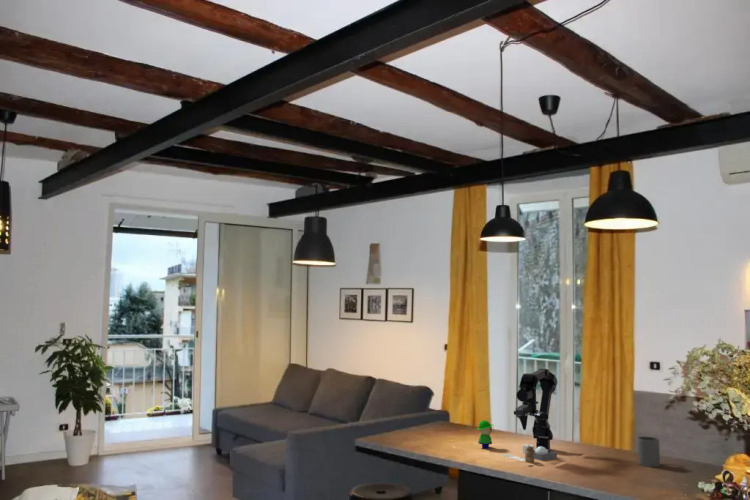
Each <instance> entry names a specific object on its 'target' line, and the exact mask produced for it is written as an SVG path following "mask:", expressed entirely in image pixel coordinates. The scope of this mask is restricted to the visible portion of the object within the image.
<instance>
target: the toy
mask: <svg viewBox="0 0 750 500" xmlns="http://www.w3.org/2000/svg"><path fill="white" fill-rule="evenodd" d="M494 428H495V427H494V424H491V423H490V422H489V421H488V420H481V421H480V422H479V424H478V427H477V428H476V430H479V432H480V435H479V438H478V442H477V443H478V444H480V445H481V448H482V449H484V450H488V449H489V448H490V445H492V444H493V441H492V437H491V433H492V432H494Z"/></svg>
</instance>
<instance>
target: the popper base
mask: <svg viewBox="0 0 750 500" xmlns="http://www.w3.org/2000/svg"><path fill="white" fill-rule="evenodd" d="M557 455H558V452H557V451H553V450H550V449H549V450H548V453H543V454H541V453H537V452H535V449H534V460H537V461H541V462H542V461H548V460H554V459H555V460H556V459H558V456H557Z"/></svg>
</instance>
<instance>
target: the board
mask: <svg viewBox="0 0 750 500" xmlns="http://www.w3.org/2000/svg"><path fill="white" fill-rule="evenodd" d="M501 456H502V457H505V458H510V459H513V460H517V461H521V462H524V463H527V464H530V463H529V462H525V458H522V457H519V456H515V455H512V454H508V453H506V454H502V455H501ZM535 463H537V462H536V461H534V462H533V463H532V464H535ZM529 467H535V465H528V468H529Z"/></svg>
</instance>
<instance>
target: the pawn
mask: <svg viewBox="0 0 750 500" xmlns="http://www.w3.org/2000/svg"><path fill="white" fill-rule="evenodd" d="M534 450H535V449H534ZM534 450H533V448H532V447H531V446H528V447H527V448H526V450H525V453H524V454H525V456H524V457H525V458H524V459H525V462H524V463H526V462H529V463H528V464H534V463H533V462H535V459H534Z"/></svg>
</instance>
